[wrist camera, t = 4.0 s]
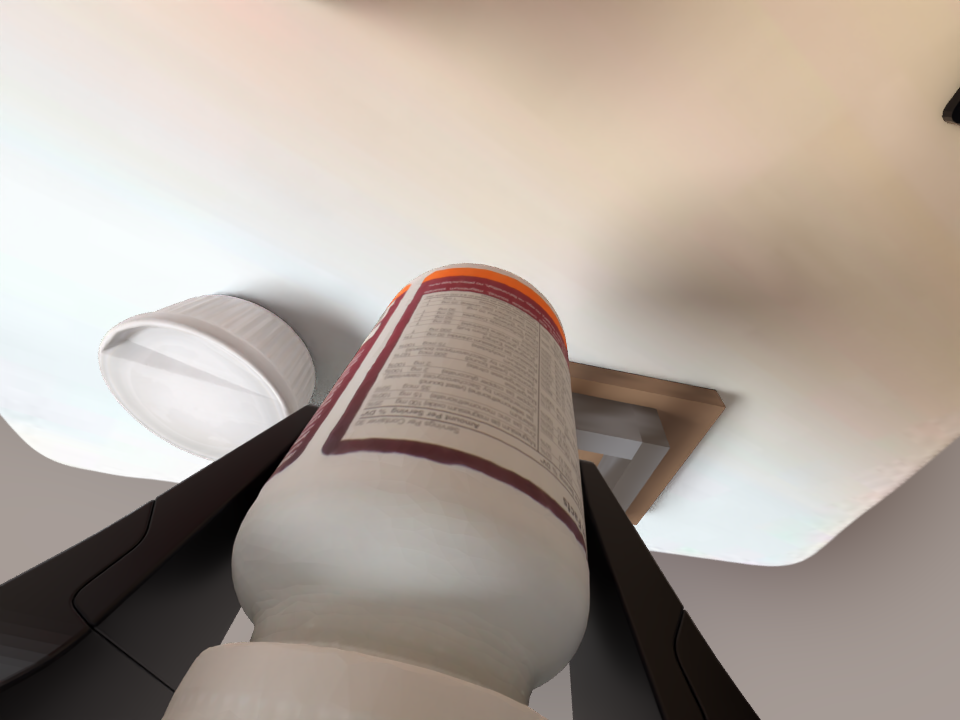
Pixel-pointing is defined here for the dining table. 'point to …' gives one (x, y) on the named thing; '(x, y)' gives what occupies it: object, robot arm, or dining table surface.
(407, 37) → the dining table surface
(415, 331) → the pill bottle
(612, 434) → the socket board
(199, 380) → the ramekin
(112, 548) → the robot arm
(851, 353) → the dining table surface
